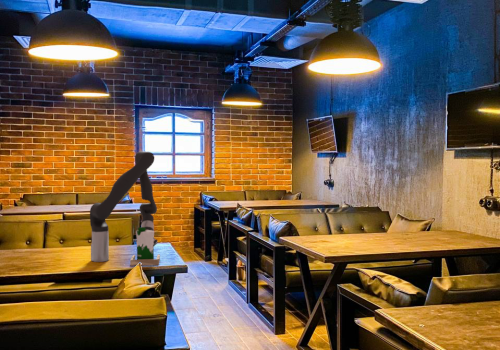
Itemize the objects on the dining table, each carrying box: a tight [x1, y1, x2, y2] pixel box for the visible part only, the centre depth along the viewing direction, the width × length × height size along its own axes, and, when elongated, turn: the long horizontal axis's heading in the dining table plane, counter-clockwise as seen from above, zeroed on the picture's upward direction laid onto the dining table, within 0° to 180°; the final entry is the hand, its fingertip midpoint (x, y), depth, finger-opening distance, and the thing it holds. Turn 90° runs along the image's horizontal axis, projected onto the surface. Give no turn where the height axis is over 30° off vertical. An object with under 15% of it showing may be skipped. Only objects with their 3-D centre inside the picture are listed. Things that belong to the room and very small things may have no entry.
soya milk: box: [135, 227, 155, 260], centre depth 280 cm, size 9×9×20 cm
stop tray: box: [129, 253, 161, 267], centre depth 279 cm, size 15×15×3 cm
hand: (146, 254), depth 285 cm, fingers closed
